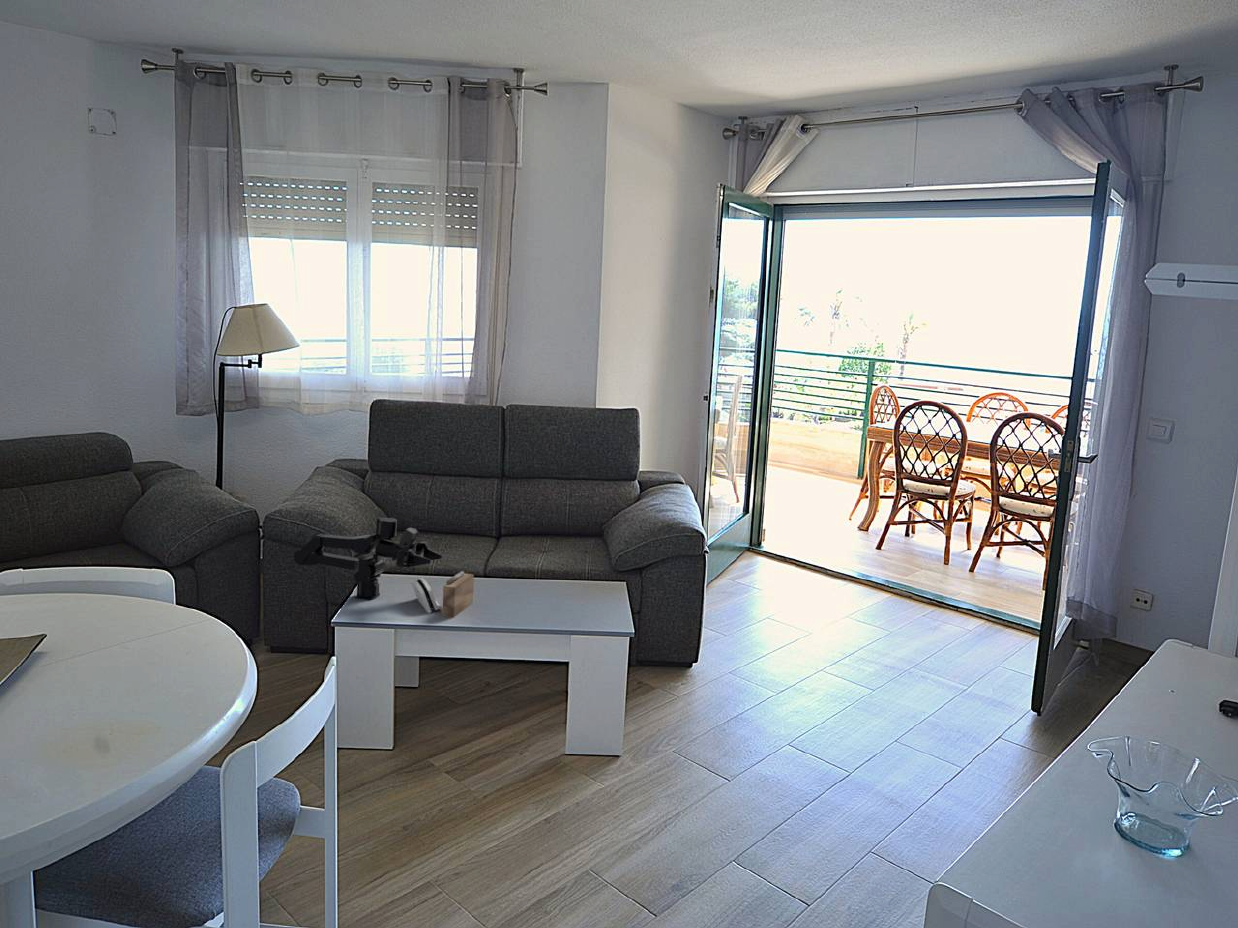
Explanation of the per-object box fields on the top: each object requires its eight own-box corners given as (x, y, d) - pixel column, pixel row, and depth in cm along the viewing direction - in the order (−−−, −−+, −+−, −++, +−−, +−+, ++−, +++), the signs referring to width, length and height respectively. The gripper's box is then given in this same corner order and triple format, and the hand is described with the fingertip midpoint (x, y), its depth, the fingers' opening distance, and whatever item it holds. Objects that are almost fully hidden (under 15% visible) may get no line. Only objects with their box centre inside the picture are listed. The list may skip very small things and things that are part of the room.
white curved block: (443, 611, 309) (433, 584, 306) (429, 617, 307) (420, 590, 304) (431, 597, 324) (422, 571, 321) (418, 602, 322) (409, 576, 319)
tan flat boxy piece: (441, 615, 305) (442, 581, 303) (460, 601, 321) (461, 569, 320) (453, 617, 304) (455, 583, 302) (472, 602, 320) (473, 570, 319)
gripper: (383, 530, 306) (428, 539, 303) (408, 523, 324) (450, 531, 321) (379, 563, 307) (423, 573, 304) (404, 554, 325) (446, 563, 322)
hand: (436, 559), depth 312 cm, fingers open, 9 cm apart
